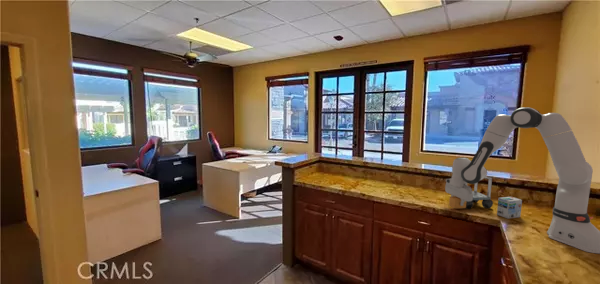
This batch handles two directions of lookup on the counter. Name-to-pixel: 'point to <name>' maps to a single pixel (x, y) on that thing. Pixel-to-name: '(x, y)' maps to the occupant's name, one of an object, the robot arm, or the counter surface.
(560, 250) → the counter surface
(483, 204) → the trolley
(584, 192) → the robot arm
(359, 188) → the counter surface
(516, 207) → the light bulb box
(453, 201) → the block
